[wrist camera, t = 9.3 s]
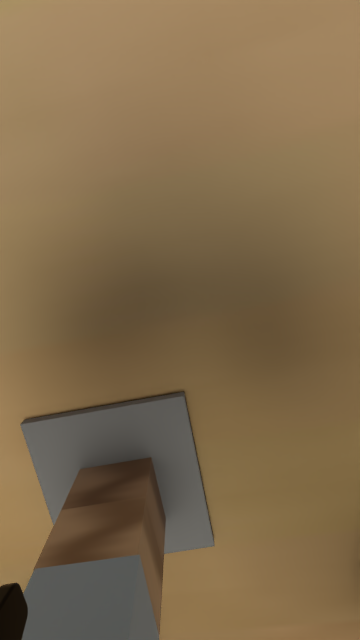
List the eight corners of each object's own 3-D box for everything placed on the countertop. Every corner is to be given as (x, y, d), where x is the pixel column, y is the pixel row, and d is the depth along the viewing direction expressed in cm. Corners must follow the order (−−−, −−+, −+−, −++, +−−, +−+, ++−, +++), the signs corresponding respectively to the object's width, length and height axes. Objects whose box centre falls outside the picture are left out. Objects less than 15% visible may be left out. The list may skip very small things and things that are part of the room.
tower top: (145, 496, 18) (137, 554, 15) (163, 566, 19) (159, 634, 16) (60, 510, 18) (33, 569, 15) (82, 578, 19) (61, 648, 16)
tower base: (151, 457, 22) (145, 496, 18) (165, 518, 23) (163, 566, 19) (79, 469, 22) (60, 510, 18) (97, 529, 23) (82, 578, 19)
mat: (183, 391, 21) (183, 395, 21) (213, 538, 24) (214, 546, 23) (24, 419, 22) (20, 424, 21) (70, 560, 24) (67, 568, 24)
